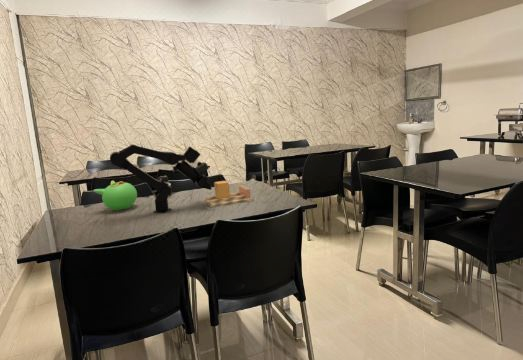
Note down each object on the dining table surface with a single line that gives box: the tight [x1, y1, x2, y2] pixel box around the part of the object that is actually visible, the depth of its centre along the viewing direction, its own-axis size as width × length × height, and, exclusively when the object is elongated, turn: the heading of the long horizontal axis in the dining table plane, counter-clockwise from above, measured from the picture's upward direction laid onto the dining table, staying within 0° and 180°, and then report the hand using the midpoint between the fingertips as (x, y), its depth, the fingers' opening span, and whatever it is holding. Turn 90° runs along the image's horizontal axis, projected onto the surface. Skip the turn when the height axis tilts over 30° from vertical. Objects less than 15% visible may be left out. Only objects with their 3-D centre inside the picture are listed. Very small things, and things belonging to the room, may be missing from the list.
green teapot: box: [93, 180, 138, 211], centre depth 188 cm, size 18×17×15 cm
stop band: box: [238, 184, 251, 199], centre depth 196 cm, size 2×12×5 cm, turn 23°
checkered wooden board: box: [203, 191, 254, 208], centre depth 193 cm, size 22×14×3 cm, turn 113°
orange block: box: [213, 180, 231, 199], centre depth 191 cm, size 6×6×9 cm
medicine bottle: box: [156, 175, 173, 199], centre depth 210 cm, size 7×7×12 cm
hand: (211, 189), depth 188 cm, fingers closed
